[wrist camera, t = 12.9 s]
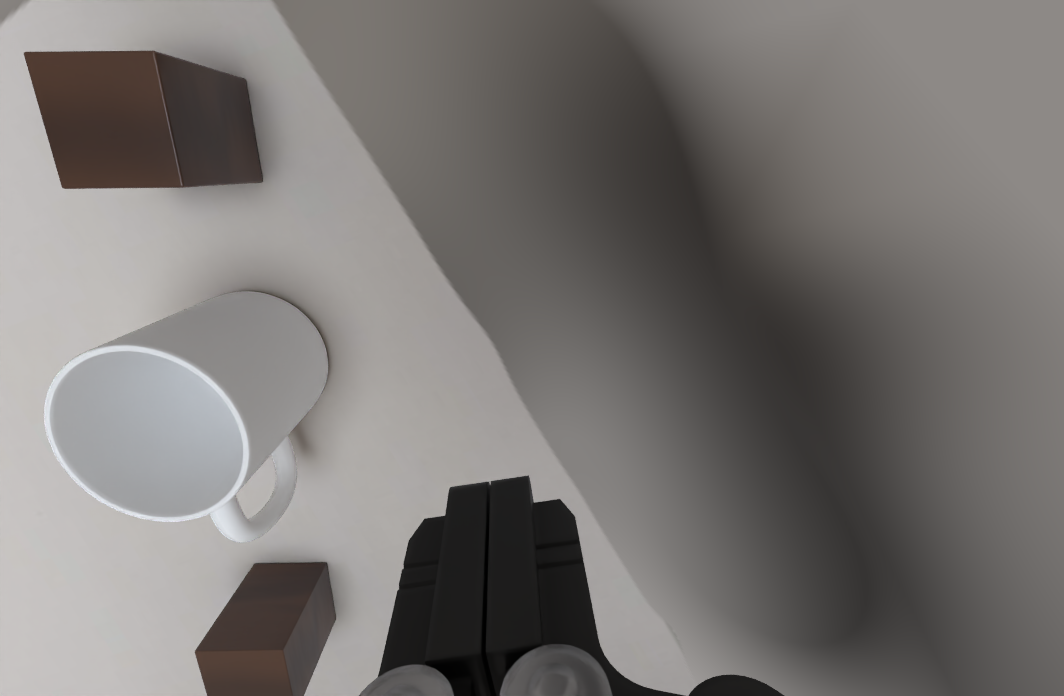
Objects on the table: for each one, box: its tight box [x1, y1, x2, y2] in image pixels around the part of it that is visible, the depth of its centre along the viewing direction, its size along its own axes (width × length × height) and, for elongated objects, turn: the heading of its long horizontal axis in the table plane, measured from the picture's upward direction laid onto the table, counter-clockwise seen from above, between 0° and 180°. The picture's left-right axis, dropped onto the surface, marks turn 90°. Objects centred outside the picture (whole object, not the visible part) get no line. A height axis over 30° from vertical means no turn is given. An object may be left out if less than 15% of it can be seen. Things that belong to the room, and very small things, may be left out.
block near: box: [24, 51, 262, 189], centre depth 24 cm, size 5×5×7 cm
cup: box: [44, 291, 328, 543], centre depth 27 cm, size 8×12×10 cm
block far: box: [195, 563, 336, 696], centre depth 34 cm, size 5×5×7 cm
